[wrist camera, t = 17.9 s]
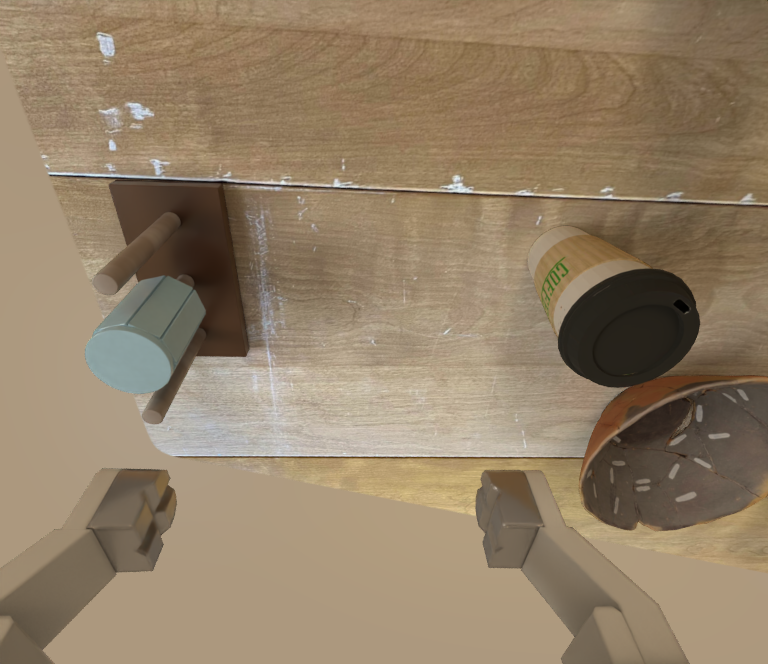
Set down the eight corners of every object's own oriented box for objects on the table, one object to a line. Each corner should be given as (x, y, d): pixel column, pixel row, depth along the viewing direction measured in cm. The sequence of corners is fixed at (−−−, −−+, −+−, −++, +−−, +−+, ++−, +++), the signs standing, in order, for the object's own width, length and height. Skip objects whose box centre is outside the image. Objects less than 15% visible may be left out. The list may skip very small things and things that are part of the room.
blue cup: (120, 284, 36) (66, 339, 30) (185, 270, 36) (146, 322, 29) (154, 339, 40) (113, 400, 33) (215, 327, 39) (185, 386, 32)
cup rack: (165, 347, 47) (105, 443, 36) (116, 179, 37) (12, 239, 26) (249, 348, 48) (215, 442, 37) (222, 182, 38) (165, 243, 27)
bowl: (778, 304, 48) (866, 359, 40) (727, 450, 62) (784, 514, 53) (549, 349, 50) (586, 410, 42) (549, 480, 64) (577, 546, 55)
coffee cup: (488, 267, 44) (539, 358, 31) (562, 185, 39) (655, 253, 27) (554, 313, 47) (623, 411, 35) (629, 243, 43) (738, 326, 30)
